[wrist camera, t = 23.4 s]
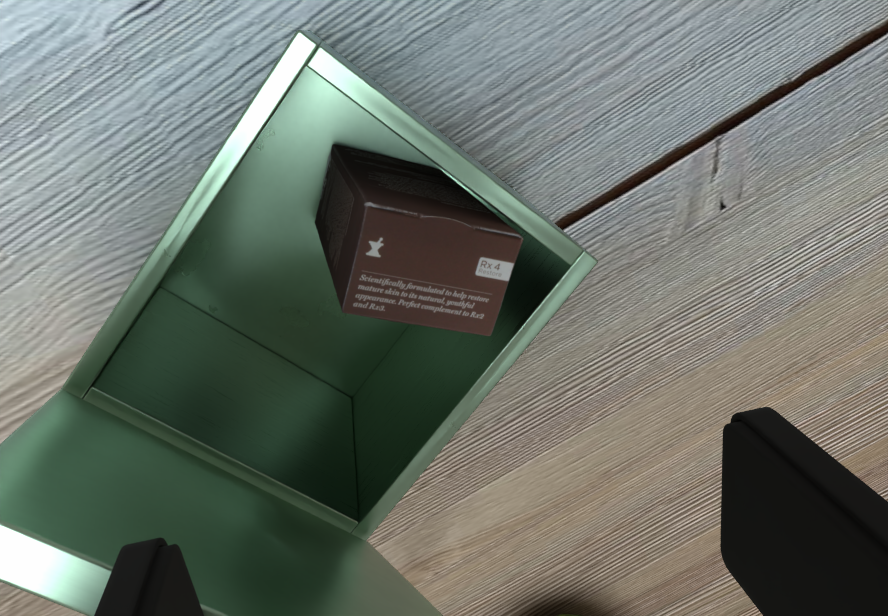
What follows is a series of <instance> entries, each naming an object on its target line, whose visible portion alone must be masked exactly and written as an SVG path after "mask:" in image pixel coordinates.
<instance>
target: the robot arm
mask: <svg viewBox="0 0 888 616" xmlns="http://www.w3.org/2000/svg"><path fill="white" fill-rule="evenodd" d="M721 554H722V558H723V560H724V563H725V565H726V567H727V569H728V570H729V572H730V573H731V574H732V576H733V577H734V578H735V579H736V581H737V582H738V583H739V585H740V586H741V587H742V589H743V590H744V591H745V592H746V594H747V595H748V596H749V598H750V599H751V600H752V601H753V603H754V604H755V605H756V607H757V608H758V609H759V611H760V612H761V613H762V614H763V616H888V502H887V501H886V500H885V499H884V498H882V497H881V496H880V495H879V494H877V493H876V492H875V491H874V490H872V489H871V488H870V487H869V486H867V485H866V484H865V483H864V482H863V481H861V480H860V479H859V478H858V477H856V476H855V475H854V474H853V473H851V472H850V471H849V470H848V469H846V468H845V467H844V466H843V465H842V464H840V463H839V462H838V461H837V460H835V459H834V458H833V457H832V456H830V455H829V454H828V453H827V452H825V451H824V450H823V449H822V448H821V447H819V446H818V445H817V444H816V443H814V442H813V441H812V440H811V439H809V438H808V437H807V436H806V435H804V434H803V433H802V432H801V431H800V430H798V429H797V428H796V427H795V426H793V425H792V424H791V423H790V422H788V421H787V420H786V419H785V418H783V417H782V416H781V415H780V414H779V413H777V412H776V411H775V410H773V409H772V408H770V407H763V408H758V409H754V410H749V411H744V412H740V413H736V414H734V415H733V416H732V418H731V423H730V424H727V425H725V427H724V429H723V454H722V502H721ZM94 616H204V614H203V611H202V608H201V606H200V603H199V600H198V597H197V594H196V591H195V589H194V586H193V583H192V580H191V577H190V575H189V572H188V569H187V566H186V563H185V560H184V558H183V555H182V552H181V550H180V547H179V546H178V545H177V544H172V545H168V544H167V542H166V541H165V540H164V538H161V537H160V538H155V539H150V540H146V541H141V542H136V543H132V544H127V545H124V546H123V547H122V548H121V550H120V552H119V554H118V557H117V559H116V562H115V564H114V567H113V569H112V572H111V574H110V577H109V579H108V582H107V584H106V587H105V590H104V592H103V595H102V597H101V600H100V602H99V605H98V607H97V610H96V612H95V615H94Z"/></svg>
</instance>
